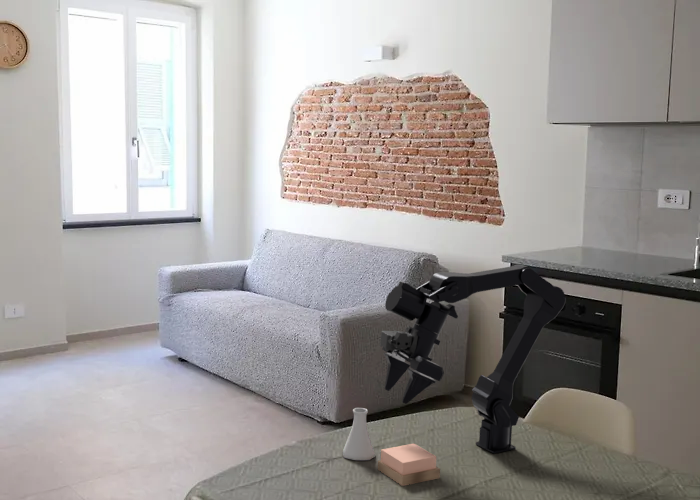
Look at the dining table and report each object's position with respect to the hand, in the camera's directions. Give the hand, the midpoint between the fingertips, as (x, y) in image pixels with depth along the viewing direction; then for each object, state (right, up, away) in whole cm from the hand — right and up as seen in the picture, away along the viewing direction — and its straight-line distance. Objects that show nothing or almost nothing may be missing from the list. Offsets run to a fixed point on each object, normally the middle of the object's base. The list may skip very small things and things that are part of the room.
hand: (395, 396), depth 169 cm
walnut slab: (+2, -15, -6) cm, 16 cm away
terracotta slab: (+2, -13, -6) cm, 14 cm away
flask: (-8, -13, +3) cm, 16 cm away
